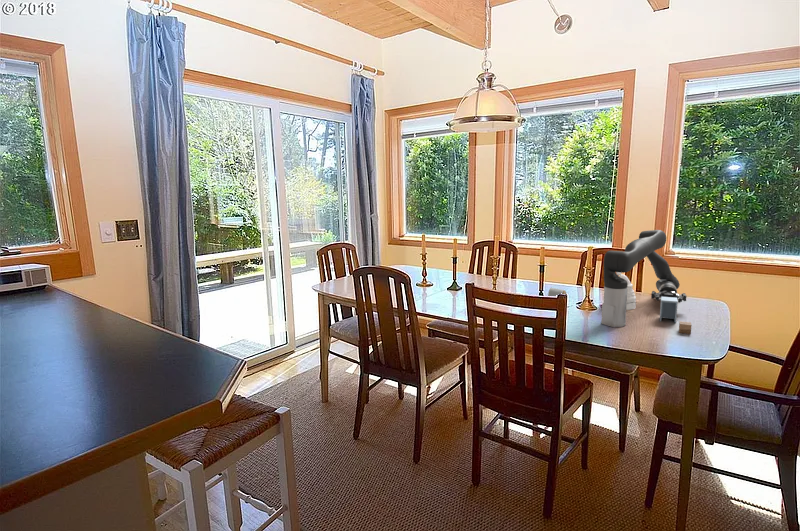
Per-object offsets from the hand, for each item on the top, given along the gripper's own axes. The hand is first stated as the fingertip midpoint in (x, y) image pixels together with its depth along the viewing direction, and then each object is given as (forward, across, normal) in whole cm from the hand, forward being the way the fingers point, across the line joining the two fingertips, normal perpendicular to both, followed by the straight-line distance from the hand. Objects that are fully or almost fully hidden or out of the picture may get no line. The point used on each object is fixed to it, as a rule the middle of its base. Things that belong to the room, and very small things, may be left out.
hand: (668, 299), depth 199 cm
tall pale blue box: (+8, 0, +8) cm, 11 cm away
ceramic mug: (-7, -51, +8) cm, 52 cm away
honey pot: (-9, -20, +8) cm, 23 cm away
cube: (+23, +6, +8) cm, 25 cm away
